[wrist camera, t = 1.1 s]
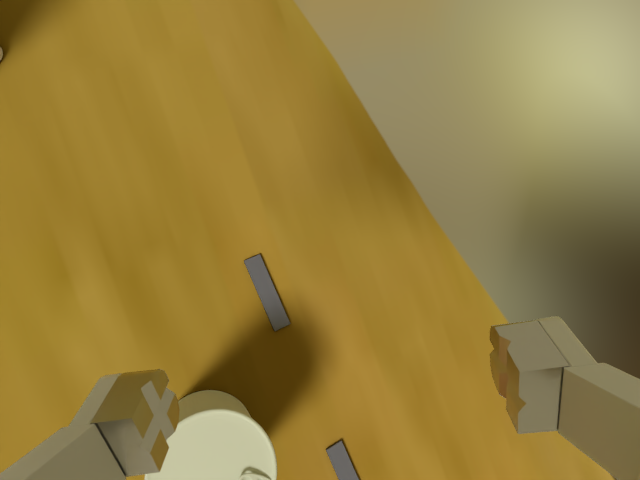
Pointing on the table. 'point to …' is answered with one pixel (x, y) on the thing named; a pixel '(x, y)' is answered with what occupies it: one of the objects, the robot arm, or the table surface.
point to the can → (217, 442)
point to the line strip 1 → (267, 292)
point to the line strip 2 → (341, 462)
